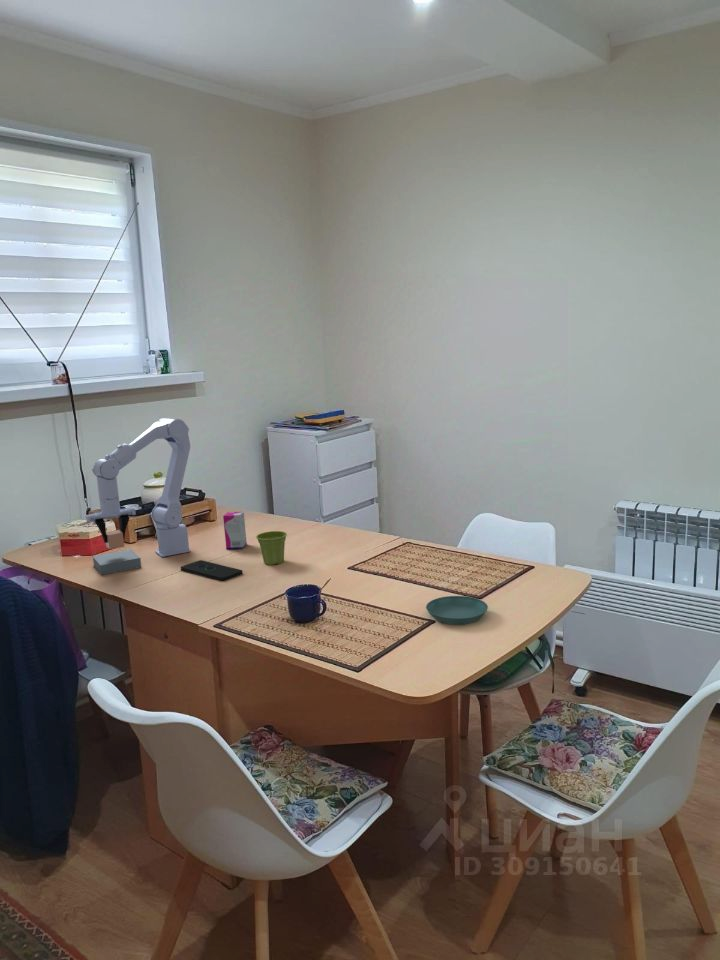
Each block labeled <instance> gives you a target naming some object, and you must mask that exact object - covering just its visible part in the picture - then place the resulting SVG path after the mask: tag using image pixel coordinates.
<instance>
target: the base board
mask: <svg viewBox="0 0 720 960" xmlns="http://www.w3.org/2000/svg"><path fill="white" fill-rule="evenodd" d="M92 562H93V566H94V568H95V567H96V568H95V569H96V570H97V571H98V573H100V575H101V576H104V575H107V574H108V573H109V574H113V573H114V574H115V573H119V572H123V571H124V572H125V571H129V570H133V569H138V568H142V562H141V557H140V556H139V555H138V554H137V553H136V552H135V551H134V550H133V549H132V548H131V549H125V550H120V551H114V552H109V553H108V552H107V553H103V554H98V555H93V556H92ZM118 571H119V572H118ZM103 574H104V575H103Z"/></svg>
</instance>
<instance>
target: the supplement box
mask: <svg viewBox="0 0 720 960" xmlns="http://www.w3.org/2000/svg"><path fill="white" fill-rule="evenodd" d="M222 518H223V527H224V530H223V531H224V537H225V539H224V540H225V549H226V550H243V549H244V548H245V547H246V546H247V544H248V543H247V533H246V532H247V531H246V522H245V521H246V520H245V511H227V512H226V513H225V514H224V515H223V516H222Z"/></svg>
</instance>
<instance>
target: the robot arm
mask: <svg viewBox="0 0 720 960" xmlns="http://www.w3.org/2000/svg"><path fill="white" fill-rule="evenodd" d="M189 430H190V428H189V427H188V425H187V424H186V423H185V421H184V420H182V419H179V418H168V417H161V418H160V419H158V421H155V422H153V424H151V425H150V427H149V428H148V429H146V430H145V431H144V432H142V433H141V434H140V435H139V436H138V437H137V438H135V439H133V441H131V443H129V444H128V443H122V444H117V446H116V449H115V450H113V451H112V452H110V453H109V454H108V453H107V454H106V455H104V458H99V459H97V460H96V461H95V462H94V464H93V468H92V469H91V471H92V474H93V475H94V476H95V477H96V481H97V482H96V483H97V489H98V499H99V507H100V512H94V513H90V514H86V515H85V519H86V523H92V522H94V524H96V526H97V528H98V530H99V532H100V533H101V536H102V540H103V542H104V543H105V544H106V543H108V542H107V535H106V532H107V527H106V526H107V525H106V522H105V520H107V519H114V518H118V525H119V530H120V531H121V532H123V539H124V540H125V539H126V537H125V536H126V530H127V526H128V524H129V521H130V516H136V515H137V513H136V508H135V507H127V508H121V505H120V496H119V495H120V494H119V488H118V487H119V486H118V480H117V477H118V475H119V473H120V471H121V470H122V469H123V468H125V467H126V466H128V465H129V464H130V463H131V462H133V460H135V459H136V458H137V453H138V452H140V451H141V450H143V449H144V448H146V447H147V446H148V445H150V444H151V443H153V442H154V441H156V440H158V439H163V440H165V441H166V442H167V443H168V445H169V446H170V447H171V448H172V450H171V454H170V459H169V464H168V468H167V471H166V476H165V480H164V485H163V489H162V494H161V496H160V497H159V498H158V499H157V500H156V503H155V506H154V507H153V508H152V510H151V513H150V515H151V519H152V521H153V522H155V525H156V526H155V528H156V536H157V537H156V538H157V545H158V549H156V550H155V553H156V554H157V555H159V556H160V557H161V558H163V557H169V556H174V555H179V554H184V553H189V552H191V550H190V544H189V534H188V529H187V525H186V524H184V523H181V522H182V519H183V513H182V503H181V502H180V494H181V491H182V487H183V486H182V485H183V483H184V482H183V481H184V477H185V472H186V467H187V465H188V458H189V455H190V450H191V442H190V437H189Z"/></svg>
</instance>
